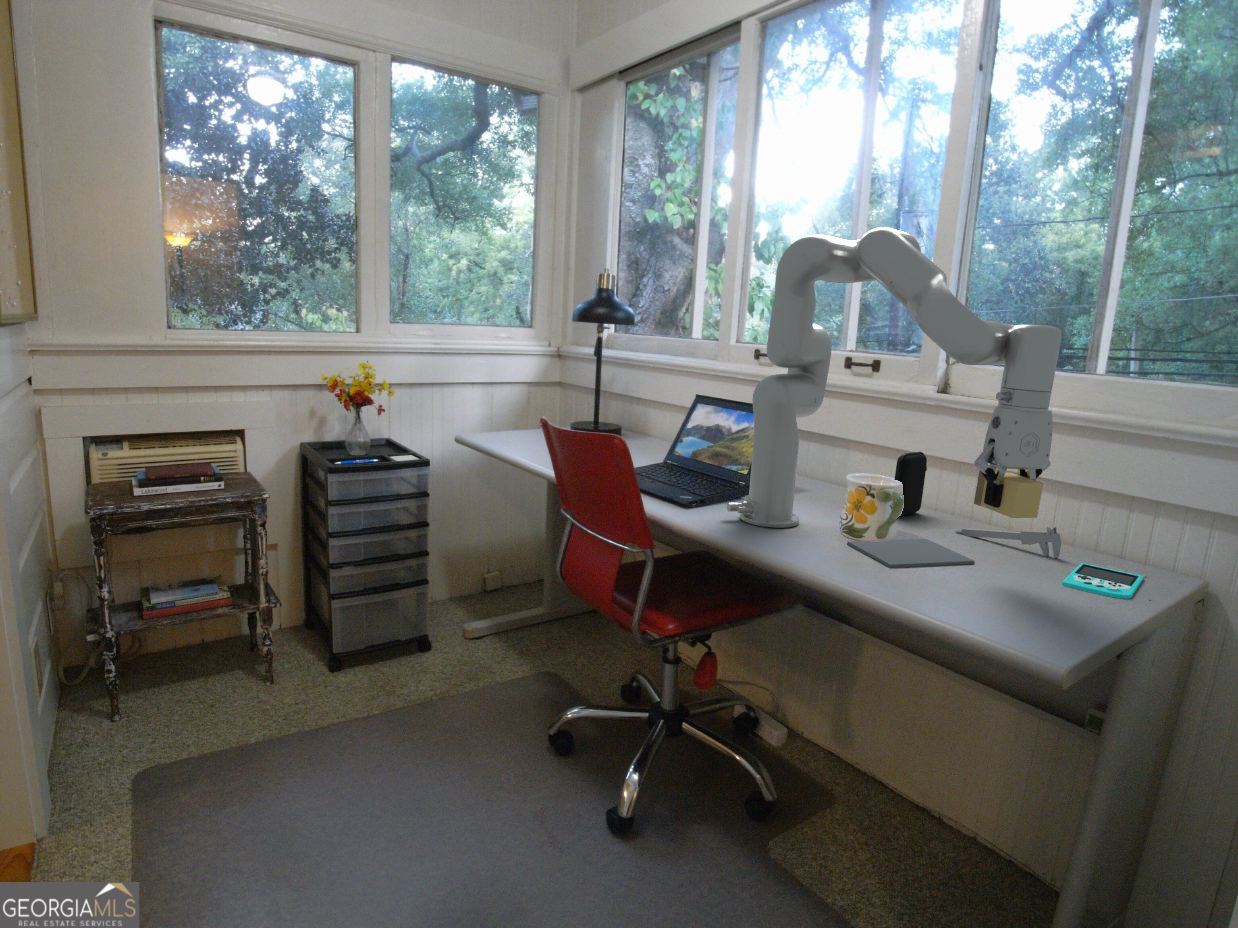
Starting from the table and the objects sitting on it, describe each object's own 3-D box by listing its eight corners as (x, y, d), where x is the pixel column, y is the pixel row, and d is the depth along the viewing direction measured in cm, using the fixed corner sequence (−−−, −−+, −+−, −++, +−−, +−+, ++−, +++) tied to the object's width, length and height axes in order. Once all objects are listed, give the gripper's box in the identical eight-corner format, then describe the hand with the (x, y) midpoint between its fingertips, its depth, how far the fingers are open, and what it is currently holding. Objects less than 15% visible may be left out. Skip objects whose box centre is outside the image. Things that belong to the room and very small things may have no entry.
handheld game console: (1059, 587, 129) (1060, 580, 129) (1079, 567, 141) (1080, 560, 140) (1128, 604, 122) (1129, 596, 122) (1142, 582, 134) (1144, 574, 134)
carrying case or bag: (913, 510, 177) (921, 449, 174) (925, 513, 175) (933, 452, 172) (887, 515, 171) (894, 452, 168) (898, 519, 169) (907, 455, 166)
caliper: (1058, 559, 144) (1064, 528, 143) (1056, 560, 144) (1061, 529, 142) (957, 533, 160) (961, 504, 159) (955, 533, 159) (959, 505, 158)
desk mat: (890, 567, 133) (890, 564, 133) (847, 544, 147) (847, 541, 146) (974, 563, 138) (974, 560, 138) (925, 541, 151) (925, 538, 151)
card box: (1012, 518, 123) (1018, 482, 122) (973, 503, 132) (979, 470, 130) (1037, 518, 124) (1044, 482, 123) (997, 503, 133) (1003, 470, 132)
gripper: (998, 401, 118) (979, 511, 122) (1083, 404, 123) (1063, 510, 126) (965, 395, 125) (948, 500, 129) (1047, 398, 130) (1029, 499, 134)
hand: (1005, 504), depth 128 cm, fingers closed on card box, 4 cm apart
